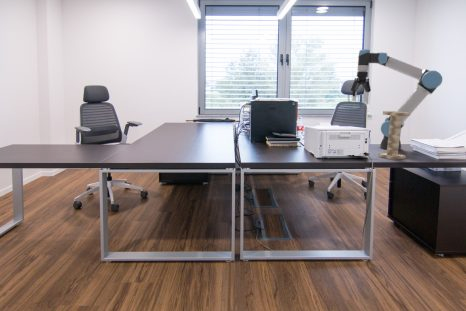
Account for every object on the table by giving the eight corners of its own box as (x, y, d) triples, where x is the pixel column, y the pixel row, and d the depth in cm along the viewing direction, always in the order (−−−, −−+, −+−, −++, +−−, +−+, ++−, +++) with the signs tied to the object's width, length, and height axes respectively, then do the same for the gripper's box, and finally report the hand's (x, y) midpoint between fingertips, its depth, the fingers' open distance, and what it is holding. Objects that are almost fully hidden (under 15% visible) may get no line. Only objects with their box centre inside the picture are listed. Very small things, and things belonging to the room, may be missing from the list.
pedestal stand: (378, 156, 279) (383, 111, 274) (389, 155, 286) (393, 111, 281) (394, 159, 270) (399, 113, 264) (405, 158, 277) (410, 112, 271)
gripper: (368, 72, 317) (366, 100, 320) (347, 70, 302) (344, 100, 306) (377, 72, 311) (374, 101, 314) (356, 70, 296) (353, 101, 300)
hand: (359, 100), depth 310 cm, fingers open, 13 cm apart
